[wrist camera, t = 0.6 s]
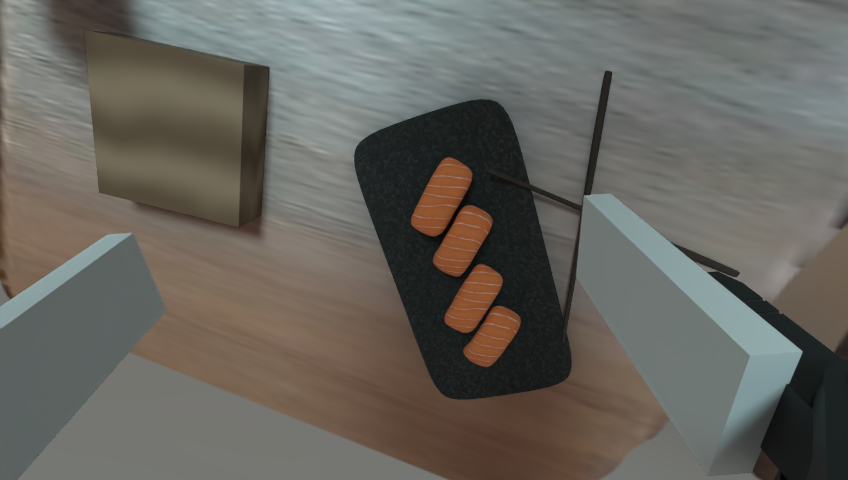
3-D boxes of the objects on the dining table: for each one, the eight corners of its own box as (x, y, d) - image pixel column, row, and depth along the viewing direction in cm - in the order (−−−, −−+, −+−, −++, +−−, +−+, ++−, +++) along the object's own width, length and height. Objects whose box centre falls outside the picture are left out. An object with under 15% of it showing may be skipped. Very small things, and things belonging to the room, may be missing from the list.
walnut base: (123, 35, 38) (83, 29, 34) (269, 66, 37) (244, 64, 33) (133, 183, 43) (99, 192, 39) (260, 214, 42) (238, 227, 38)
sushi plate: (349, 139, 39) (334, 144, 35) (709, 18, 31) (736, 9, 28) (442, 393, 47) (437, 418, 43) (745, 344, 39) (769, 370, 36)
